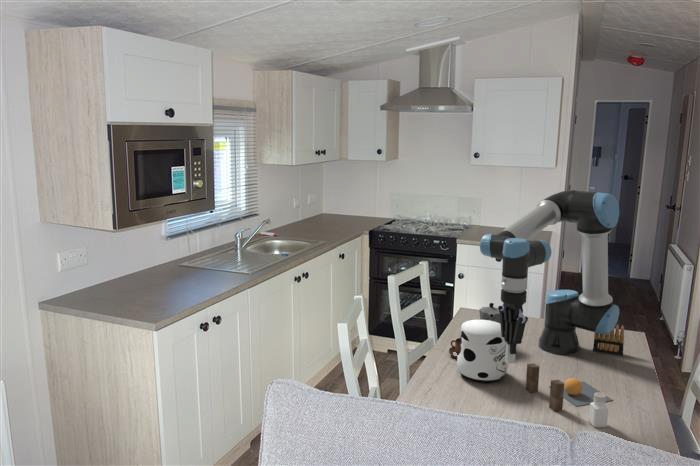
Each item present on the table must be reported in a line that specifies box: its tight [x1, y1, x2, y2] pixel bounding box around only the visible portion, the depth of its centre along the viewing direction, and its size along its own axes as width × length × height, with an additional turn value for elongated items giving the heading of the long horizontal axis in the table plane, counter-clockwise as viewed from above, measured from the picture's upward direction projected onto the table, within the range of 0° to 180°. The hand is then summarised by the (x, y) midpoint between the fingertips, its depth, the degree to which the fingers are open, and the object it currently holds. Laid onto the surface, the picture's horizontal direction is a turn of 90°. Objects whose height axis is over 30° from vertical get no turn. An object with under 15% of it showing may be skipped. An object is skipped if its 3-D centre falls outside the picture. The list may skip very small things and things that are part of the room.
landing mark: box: [548, 380, 614, 408], centre depth 185 cm, size 14×14×1 cm
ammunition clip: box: [592, 324, 625, 356], centre depth 218 cm, size 11×2×12 cm, turn 65°
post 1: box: [525, 362, 540, 394], centre depth 187 cm, size 3×3×9 cm
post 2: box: [548, 379, 565, 412], centre depth 174 cm, size 3×3×9 cm
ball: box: [564, 377, 582, 395], centre depth 184 cm, size 6×6×6 cm
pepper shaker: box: [588, 392, 609, 428], centre depth 165 cm, size 4×4×10 cm
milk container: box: [456, 319, 509, 383], centre depth 198 cm, size 17×17×18 cm
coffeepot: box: [478, 302, 501, 324], centre depth 225 cm, size 15×9×18 cm, turn 167°
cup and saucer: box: [448, 337, 461, 359], centre depth 216 cm, size 12×12×6 cm
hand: (509, 362), depth 175 cm, fingers closed
